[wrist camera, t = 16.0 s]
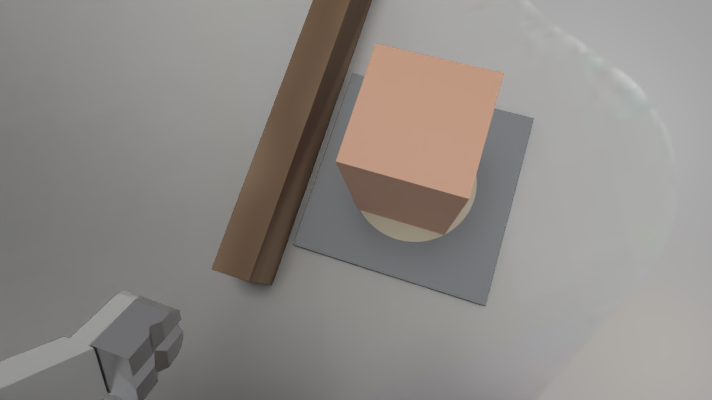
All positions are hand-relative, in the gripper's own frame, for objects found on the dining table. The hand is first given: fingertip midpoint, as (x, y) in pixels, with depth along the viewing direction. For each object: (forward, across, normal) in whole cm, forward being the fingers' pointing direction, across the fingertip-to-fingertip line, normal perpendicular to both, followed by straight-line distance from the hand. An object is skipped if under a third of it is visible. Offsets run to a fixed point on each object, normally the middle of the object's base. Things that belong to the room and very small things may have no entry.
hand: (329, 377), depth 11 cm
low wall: (+17, +7, +2) cm, 19 cm away
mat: (+16, 0, +4) cm, 16 cm away
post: (+16, 0, +3) cm, 16 cm away
